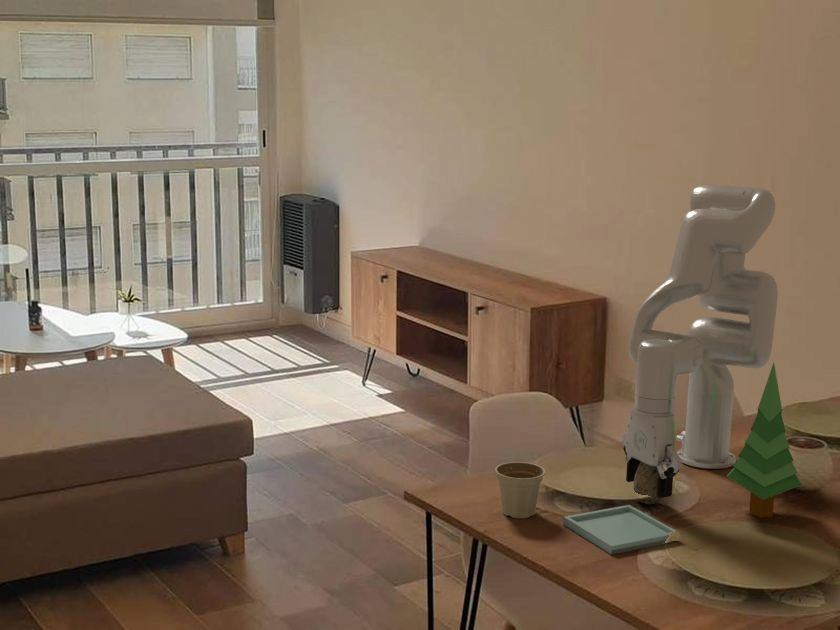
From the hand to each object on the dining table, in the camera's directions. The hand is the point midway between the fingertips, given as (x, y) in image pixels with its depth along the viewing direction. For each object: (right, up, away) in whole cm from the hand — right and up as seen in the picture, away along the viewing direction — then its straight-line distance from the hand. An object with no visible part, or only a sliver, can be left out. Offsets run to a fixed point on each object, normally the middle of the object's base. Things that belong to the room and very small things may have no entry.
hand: (648, 488), depth 230 cm
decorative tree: (+21, -4, -3) cm, 22 cm away
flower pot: (-26, -4, -6) cm, 27 cm away
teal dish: (-8, -6, -14) cm, 17 cm away
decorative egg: (0, -3, +1) cm, 3 cm away
